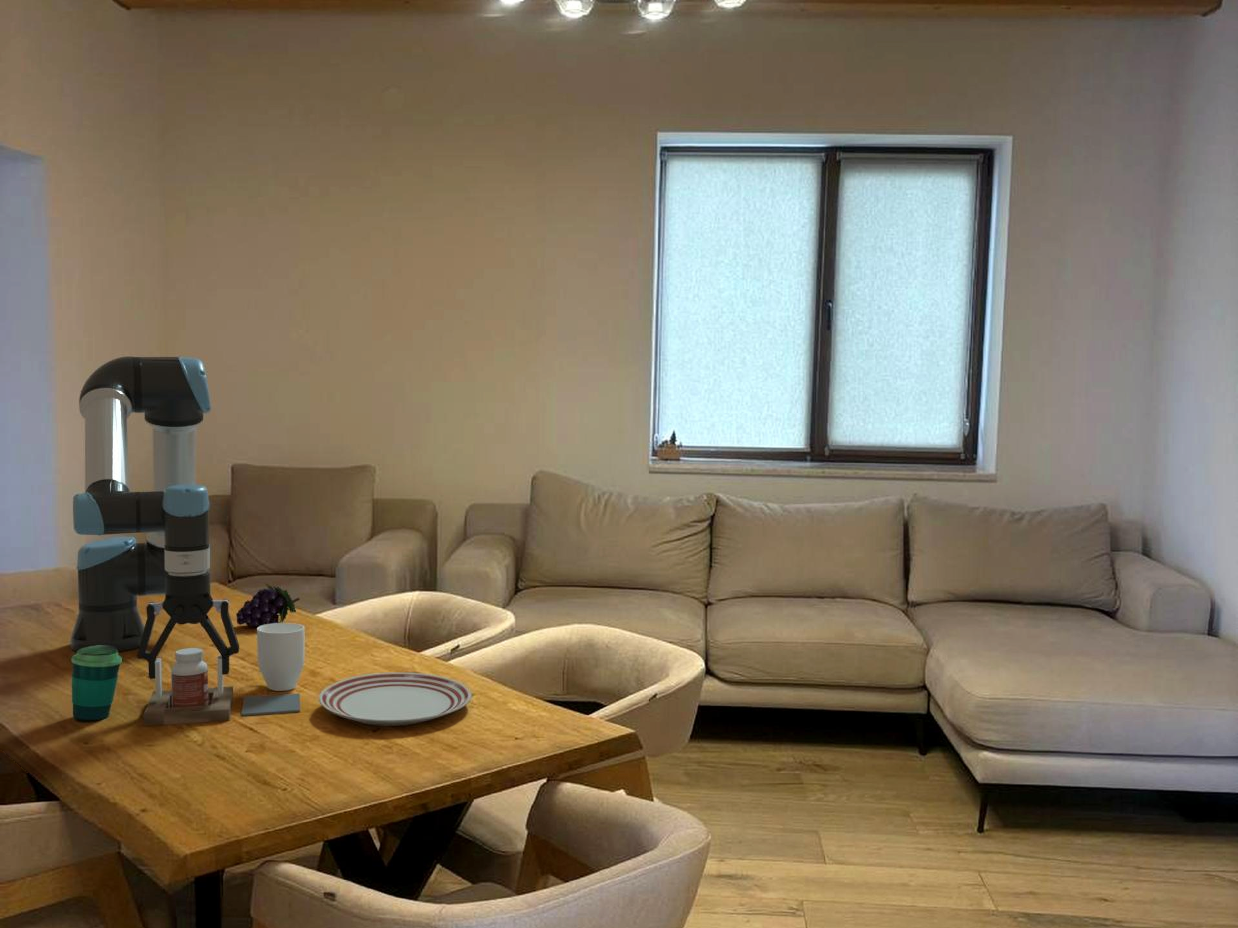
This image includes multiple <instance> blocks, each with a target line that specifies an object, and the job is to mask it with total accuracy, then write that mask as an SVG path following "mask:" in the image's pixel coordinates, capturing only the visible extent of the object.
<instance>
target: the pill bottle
mask: <svg viewBox="0 0 1238 928" xmlns="http://www.w3.org/2000/svg"><path fill="white" fill-rule="evenodd" d="M174 655H175V656H174V657H175V658H174V659H175V661H176V662H175V663H173V665H172V666H171V667H170V668H171V670H170V672H171V673H170V676H171V677H170V678H171V679H170V680H171V682H170V683H171V685H170V687H171V690H172V706H171V708H174V707H189V706H204V705H210V703H208V688H209V670H208V664H207V663H206V662H205V661H203V658H204V650H203V649H202V648H197V647H190V648H189V647H188V648H183V649H182V648H181V649H177V650H176V651H175V653H174Z"/></svg>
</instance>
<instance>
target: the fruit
mask: <svg viewBox="0 0 1238 928" xmlns="http://www.w3.org/2000/svg"><path fill="white" fill-rule="evenodd" d="M265 585H266V587H267V588H263V589H259V590H258V591H257V593H256V594H254V595H253V596H252V599H250V600H249V599H248V600H246V601H245V602H244V605H243V606H242V607H241V608H240V609H239V610H237V612H236V614H235V615H236V624H238V625H240V626H241V625H246V626H247V627H248V628H249V627H251V628H252V627H253V626H255V627H256V626H262V625H266V624H273V623H284V621H285V620H286V619H287V616H288V611H289V612H290V613H291V614H292V613H293V614H294V613H297V609H296V607H295V606H296V605H295V603H296V602H298V601H300V599H301V598H300V597H297V598H295V599H292V597H291V596H290V594H289V592H288V590H287V589H282V588H280V587H279V586H274V585H270V584H267V583H265Z"/></svg>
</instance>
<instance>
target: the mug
mask: <svg viewBox="0 0 1238 928" xmlns="http://www.w3.org/2000/svg"><path fill="white" fill-rule="evenodd" d="M305 628H306V627H305V625H303V624H299V623H293V622H283V623H282V622H278V623H273V624H268V623H267V624H266V625H262V626H260V625H258V627H257V628H256V637H257V638H256V641H257V642H256V645H257V647H256V648H257V649H256V652H257V654H256V655H257V663H258V664H257V665H258V669H259V671H260V673H261V675H262V678H263V680H264V682H265V684H266V686H267V689H268V690H271V691H274V692H275V691H277V692H279V691H280V692H283V691H285V692H287V691H291V690H293V689H295V688H296V687H297V684H298V682H299V679H300V676H301V674H302V671H303V669H304V665H305V651H306V647H305V646H306V644H305V643H306V642H305V640H306V639H305V635H306V633H305V630H306V629H305Z"/></svg>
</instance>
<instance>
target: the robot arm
mask: <svg viewBox="0 0 1238 928" xmlns="http://www.w3.org/2000/svg"><path fill="white" fill-rule="evenodd" d="M207 378H208V377H207V373H206V367H205V365H204V363H203V361H201V359H199V358H194V357H192V358H191V357H181V356H122V357H117V358H114V359H111V360H109V361H108V362H105V363H104V364H102V365H100V366H99V367H98V368H97V369H95V371H93V372H92V373H91V374H90V375H89V377H88V378H87V379H86V381H85V382H84V385H83V386H82V389H81V390H80V392H79V393H80V394H79V399H78V400H79V401H78V403H79V404H78V408H79V413H80V415H81V416H82V419H84V493H83V492H82V493H77V494H75V495H74V496H73V499H72V518H73V519H72V521H73V531H74V532H75V533H76V534H78V535H81V536H84V535H86V536H106V535H120V534H137V533H140V534H141V533H142V534H143V533H144V534H145V533H147V534H146V539H145V540H146V542H139V543H138V542H137V539H136V538H135V536H130V535H126V536H114V537H108V538H107V537H106V538H103V539H98V540H94V541H91V542H88V543H86V544H83V545H82V546H81V547H80V548H79V549H78V551H77V562H76V563H77V564H76V567H75V568H76V570H77V589H78V590H77V591H78V592H77V593H78V595H77V596H78V597H77V598H78V601H77V602H78V614H77V617H76V620H75V623H74V627H73V629H72V633H71V636H70V649H71V650H72V651H74V652H77V651H78V650H79V649H82V648H85V647H90V646H97V645H110V646H115V647H116V648H117V651H118V653H119V652H124V651H130V650H133V649H136V648H138V650H137V654H136V658H137V659H139V660H145V661H147V663H148V678H149V680H155V681H154V682H155V683H154V685H155V691H156V698H160V697H161V695H162V691H163V682H162V679H163V678H162V673H163V672H162V671H163V670H162V669H163V668H162V658H161V657H160V658H157V657H158V655H159V654H160V652H161V650H162V648H163V647H164V645H165V643H166V642H167V640H168V638H169V636H170V634H171V633H172V631H173V629H174V628H175V626H176V624H178V625H186V624H191V625H197V624H200V626H201V628H203V629H204V631H205V632H206V634H207V635H208V637H209V639H210V640H211V641H212V644H213V645H214V646H215V648H216V649H217V651H218V653H219V654H218V655H217V660H216V661H217V687H218V694H222V693H223V687H224V675H228V674H229V673H230V657H231V656H232V655H236V654H239V652H240V643H239V640H238V637H237V634H236V631H235V628H234V624H233V621H232V619H231V618H232V617H231V615H230V612H229V608H230V607H229V606H230V605H229V604H230V600H229V599H227V598H223V600H219V599H213V597H212V595H211V574H210V572H209V569H210V568H211V561H210V560H211V559H210V557H211V555H210V554H211V548H210V547H211V545H210V513H209V512H210V510H209V509H210V504H211V503H210V500H209V492H208V489H207V487H206V486H205V485H200V484H197V483H196V482H197V479H196V478H197V469H196V467H197V463H196V462H197V461H196V460H197V458H196V457H197V450H196V447H197V439H196V438H197V432H196V429H197V428H198V427H199V425H201V424H202V423H203V421H204V414H208V413H210V412H211V410H212V408H211V400H210V399H211V398H210V392H209V385H208V379H207ZM132 413H136V414H138V413H139V414H144V422H146V424H147V425H149V426H150V427H151V428H152V475H153V476H152V477H153V478H152V480H153V484H152V485H153V486H152V488H153V491H130V490H131V488H130V466H129V442H128V441H129V440H128V418H129V417H130V416H131V414H132ZM155 595H156V596H157V595H158V596H160V595H164V600H163V601H162V602H161V601H160V602H154V601H150V602H148V604H147V606H146V607H145V611H146V617H147V618H146V621H145V625H144V622H143V620H142V616H141V615H140V612H139V610H138V597H141V596H155ZM213 607H214V608H215V610H216V612H217V613H220V617H221V621H222V625H223V627H224V630H225V634H226V637H227V640H228V643H229V646H227V644H226V643H225V642H224V641H225V640H224V639H223V638H222V637H221V635H220V633H219V632H218V630H217V628H216V627H215V625H214V623H212V620H211V619H210V617H209V615H208V613H209V612H210V610H211V609H212V608H213ZM161 610H164V611H165V612H166V614H167V615H168V616H169V619H168V621H167V623H166V625H165V627H164V629H163V631H162V632H161V633H160V636H159V637H158V639H157V641H156V643H155V644H154V646H153V648H152V650H151V651H149V650H148V646H149V643H150V639H151V636H152V632H153V628H154V625H155V622H156V617H157V616H159V615H160V613H161Z"/></svg>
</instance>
